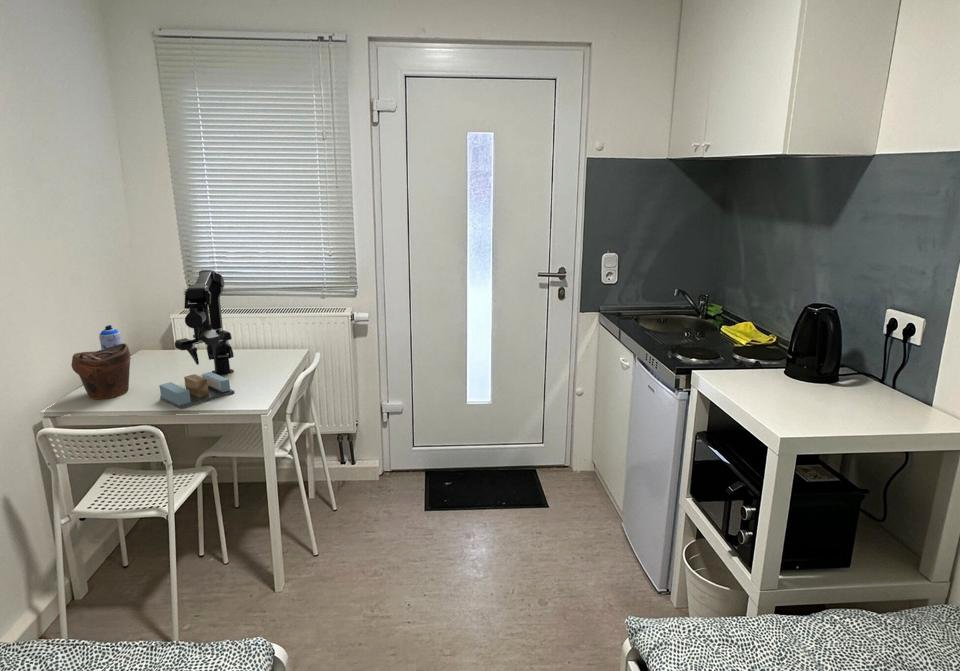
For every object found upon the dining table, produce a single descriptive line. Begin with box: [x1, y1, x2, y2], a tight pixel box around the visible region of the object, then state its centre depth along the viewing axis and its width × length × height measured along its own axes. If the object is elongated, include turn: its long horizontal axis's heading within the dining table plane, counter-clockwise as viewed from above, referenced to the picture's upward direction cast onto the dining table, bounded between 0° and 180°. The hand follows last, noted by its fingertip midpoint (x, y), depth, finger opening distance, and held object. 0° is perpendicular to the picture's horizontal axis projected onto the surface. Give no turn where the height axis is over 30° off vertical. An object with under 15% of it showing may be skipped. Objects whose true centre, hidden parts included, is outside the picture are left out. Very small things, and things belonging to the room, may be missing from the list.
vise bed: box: [159, 386, 235, 410], centre depth 230 cm, size 16×20×1 cm
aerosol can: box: [99, 324, 123, 350], centre depth 255 cm, size 8×8×20 cm
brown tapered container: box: [71, 342, 132, 400], centre depth 231 cm, size 18×20×18 cm
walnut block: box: [183, 373, 209, 398], centre depth 229 cm, size 4×9×6 cm, turn 50°
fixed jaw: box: [158, 381, 190, 406], centre depth 223 cm, size 14×4×4 cm, turn 50°
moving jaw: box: [201, 371, 231, 392], centre depth 235 cm, size 14×3×4 cm, turn 50°
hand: (206, 362), depth 231 cm, fingers open, 6 cm apart
